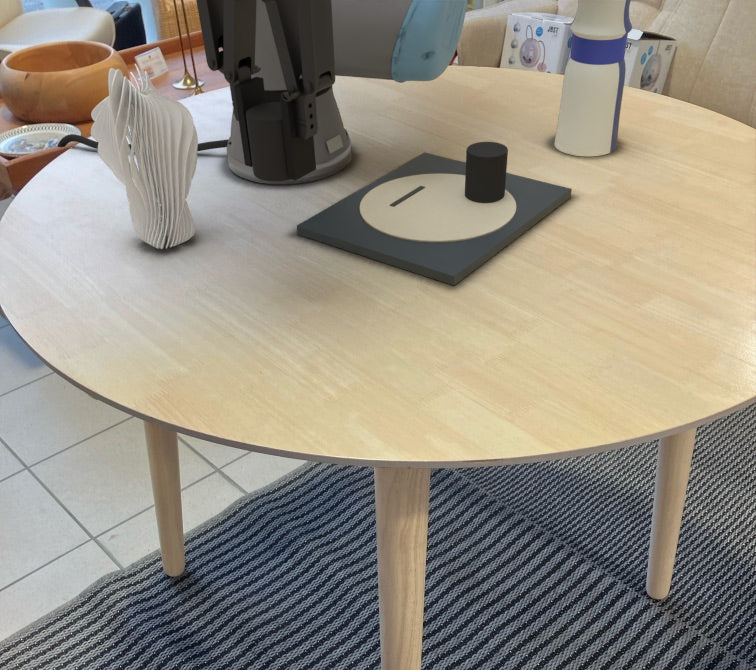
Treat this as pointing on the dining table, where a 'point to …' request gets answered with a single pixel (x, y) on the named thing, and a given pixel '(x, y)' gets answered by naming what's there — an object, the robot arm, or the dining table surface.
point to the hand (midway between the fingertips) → (280, 166)
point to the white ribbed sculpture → (149, 156)
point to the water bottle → (594, 79)
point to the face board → (432, 218)
